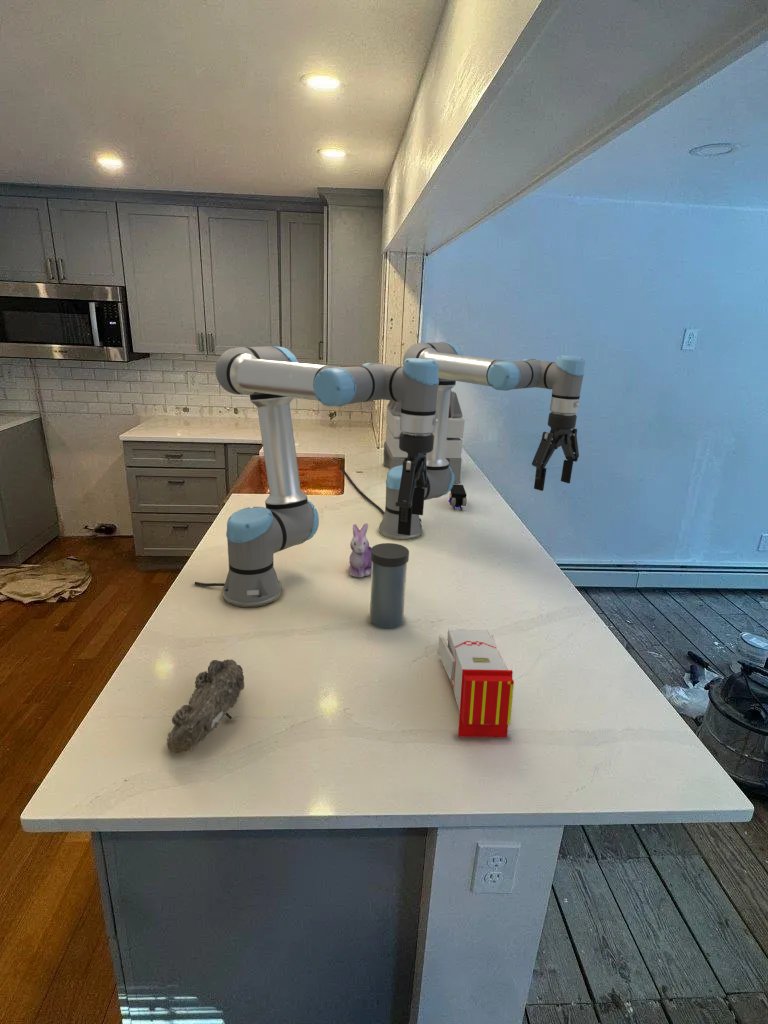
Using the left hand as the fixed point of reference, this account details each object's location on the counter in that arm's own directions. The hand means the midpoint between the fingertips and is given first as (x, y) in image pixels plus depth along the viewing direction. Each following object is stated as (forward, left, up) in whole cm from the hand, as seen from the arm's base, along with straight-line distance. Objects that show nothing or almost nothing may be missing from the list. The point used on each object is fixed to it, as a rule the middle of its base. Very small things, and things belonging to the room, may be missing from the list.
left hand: (410, 523), depth 130 cm
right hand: (+31, +48, 0) cm, 57 cm away
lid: (-6, +4, -10) cm, 12 cm away
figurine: (-20, +28, -28) cm, 45 cm away
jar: (-6, +4, -28) cm, 29 cm away
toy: (+19, -18, -28) cm, 39 cm away
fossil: (-27, -43, -28) cm, 58 cm away
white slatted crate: (-29, +141, -28) cm, 147 cm away
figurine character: (-4, +99, -28) cm, 103 cm away
